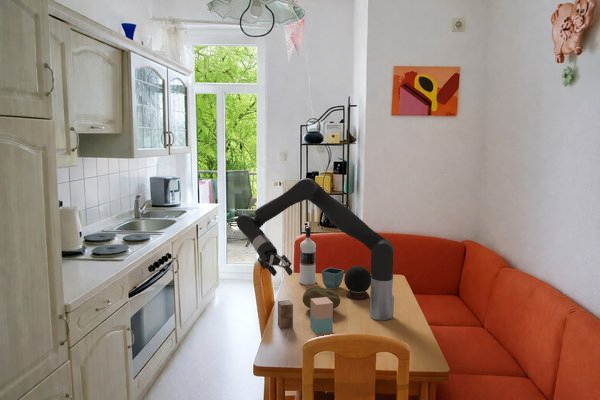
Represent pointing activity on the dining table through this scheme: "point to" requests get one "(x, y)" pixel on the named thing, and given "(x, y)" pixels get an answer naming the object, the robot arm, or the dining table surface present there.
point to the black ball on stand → (357, 283)
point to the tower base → (321, 325)
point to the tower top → (321, 308)
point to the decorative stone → (320, 296)
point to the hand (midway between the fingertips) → (283, 274)
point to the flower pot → (332, 277)
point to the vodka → (307, 260)
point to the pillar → (285, 314)
